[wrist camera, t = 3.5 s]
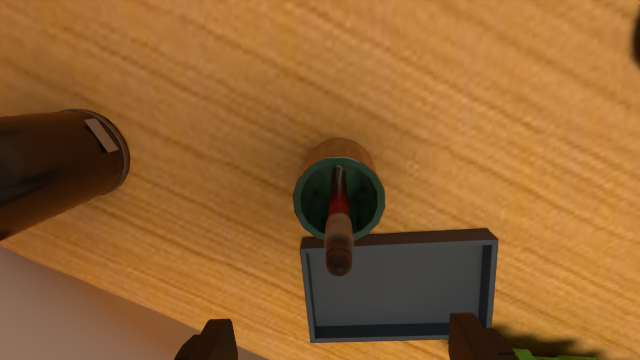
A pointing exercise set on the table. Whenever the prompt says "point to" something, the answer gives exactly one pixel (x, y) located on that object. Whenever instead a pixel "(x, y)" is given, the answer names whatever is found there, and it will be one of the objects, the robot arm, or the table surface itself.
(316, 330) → the tray
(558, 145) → the table surface
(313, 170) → the cup
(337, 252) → the brush
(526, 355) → the decorative tree
